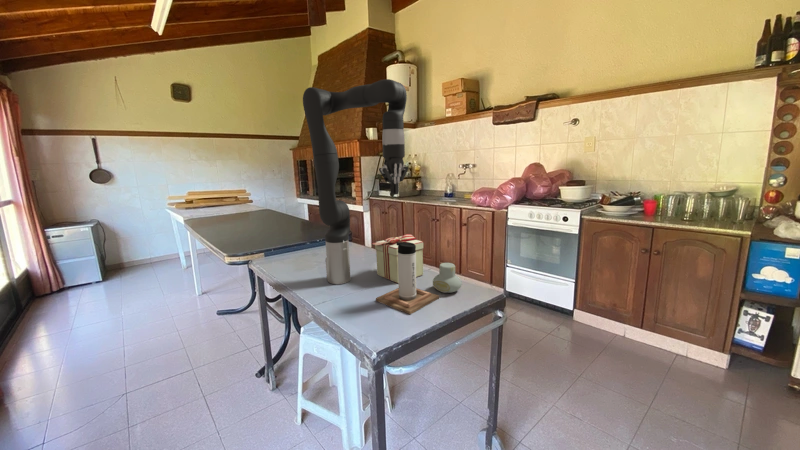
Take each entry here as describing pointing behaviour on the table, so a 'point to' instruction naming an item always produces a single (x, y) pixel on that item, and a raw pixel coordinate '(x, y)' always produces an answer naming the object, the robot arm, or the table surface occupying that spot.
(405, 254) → the travel mug
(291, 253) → the table surface
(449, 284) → the air freshener
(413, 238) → the gift box
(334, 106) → the robot arm
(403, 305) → the tan square plate
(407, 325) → the table surface
